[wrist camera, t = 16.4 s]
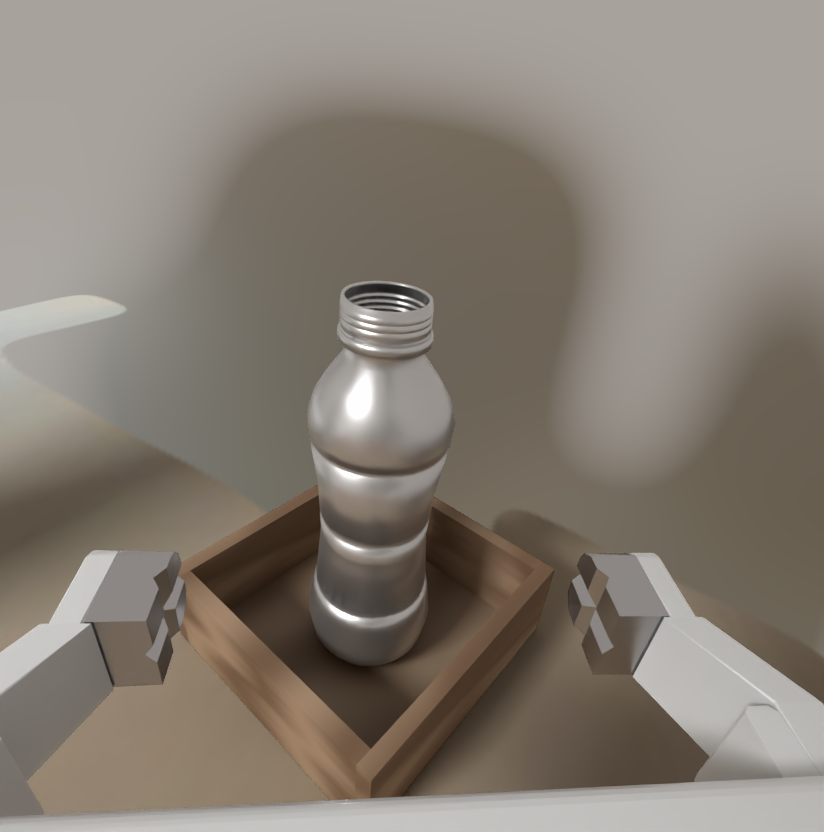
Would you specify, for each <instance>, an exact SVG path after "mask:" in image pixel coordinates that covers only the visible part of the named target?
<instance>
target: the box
mask: <svg viewBox="0 0 824 832" xmlns="http://www.w3.org/2000/svg"><path fill="white" fill-rule="evenodd" d="M320 530H321V520H320V505H319V491H318V485H316V486H315V487H313V488H311V489H309V490H307V491H306V492H304V493H302V494H300V495H299V496H297V497H295V498H293V499H292V500H290V501H288V502H286V503H285V504H283V505H281V506H280V507H278V508H276V509H274V510H273V511H271V512H269V513H267V514H265V515H264V516H262V517H260V518H258V519H257V520H255V521H253V522H251V523H250V524H248V525H246V526H244V527H243V528H241V529H239V530H237V531H236V532H234V533H232V534H230V535H229V536H227V537H225V538H224V539H222V540H220V541H218V542H217V543H215V544H213V545H211V546H210V547H208V548H206V549H204V550H203V551H201V552H199V553H197V554H196V555H194V556H192V557H190V558H189V559H187V560H185V561H183V562H182V563H181V568H180V571H179V574H178V576H179V577H180V578H181V579H183V580H184V581H185V587H186V605H185V612H184V618H183V621H182V625H181V628H180V631H181V634H182V635H183V636H184V637H185V638H186V639H187V640H188V641H189V643H190V644H191V645H192V646H193V647H194V648H195V649H196V650H197V651H198V653H199V654H200V655H201V656H202V657H203V658H204V659H205V660H206V662H207V663H208V664H209V665H210V666H211V667H212V668H213V669H214V670H215V672H216V673H217V674H218V675H219V676H220V677H221V678H222V679H223V680H224V682H225V683H226V684H227V685H228V686H229V687H230V688H231V689H232V691H233V692H234V693H235V694H236V695H237V696H238V697H239V698H240V699H241V701H242V702H243V703H244V704H245V705H246V706H247V707H248V708H249V709H250V711H251V712H252V713H253V714H254V715H255V716H256V717H257V718H258V720H259V721H260V722H261V723H262V724H263V725H264V726H265V727H266V728H267V730H268V731H269V732H270V733H271V734H272V735H273V736H274V737H275V738H276V740H277V741H278V742H279V743H280V744H281V745H282V746H283V747H284V748H285V750H286V751H287V752H288V753H289V754H290V755H291V756H292V757H293V759H294V760H295V761H296V762H297V763H298V764H299V765H300V766H301V767H302V769H303V770H304V771H305V772H306V773H307V774H308V775H309V776H310V777H311V779H312V780H313V781H314V782H315V783H316V784H317V785H318V786H319V788H320V789H321V790H322V791H323V792H324V793H325V794H326V795H327V796H328V798H329V799H330V800H344V799H364V798H384V797H401V796H402V795H403V794H404V793H405V791H406V790H407V789H408V788H409V786H410V785H411V784H412V783H413V781H414V780H415V779H416V778H417V776H418V775H419V774H420V773H421V771H422V770H423V769H424V768H425V766H426V765H427V764H428V763H429V761H430V760H431V759H432V758H433V756H434V755H435V754H436V753H437V751H438V750H439V749H440V748H441V746H442V745H443V744H444V743H445V742H446V740H447V739H448V738H449V737H450V735H451V734H452V733H453V732H454V730H455V729H456V728H457V727H458V725H459V724H460V723H461V722H462V720H463V719H464V718H465V717H466V715H467V714H468V713H469V712H470V710H471V709H472V708H473V707H474V705H475V704H476V703H477V702H478V700H479V699H480V698H481V697H482V695H483V694H484V693H485V692H486V690H487V689H488V688H489V687H490V685H491V684H492V683H493V682H494V680H495V679H496V678H497V677H498V675H499V674H500V673H501V672H502V670H503V669H504V668H505V667H506V665H507V664H508V663H509V662H510V660H511V659H512V658H513V657H514V655H515V654H516V653H517V652H518V650H519V649H520V648H521V647H522V645H523V644H524V643H525V642H526V640H527V639H528V638H529V637H530V635H531V634H532V633H533V632H534V630H535V629H536V628H537V625H538V622H539V619H540V616H541V612H542V609H543V606H544V603H545V599H546V596H547V593H548V589H549V586H550V583H551V580H552V576H553V573H554V570H555V569H554V568H552V567H550V566H549V565H547V564H545V563H544V562H542V561H540V560H539V559H537V558H535V557H534V556H532V555H530V554H529V553H527V552H525V551H524V550H522V549H520V548H519V547H517V546H515V545H514V544H512V543H510V542H509V541H507V540H505V539H504V538H502V537H500V536H499V535H497V534H495V533H494V532H492V531H490V530H489V529H487V528H485V527H483V526H482V525H480V524H479V523H477V522H475V521H473V520H472V519H470V518H469V517H467V516H465V515H464V514H462V513H460V512H459V511H457V510H455V509H454V508H452V507H450V506H449V505H447V504H445V503H444V502H442V501H440V500H439V499H437V498H435V497H434V498H433V503H432V508H431V513H430V517H429V523H428V528H427V532H426V558H425V573H426V579H427V589H428V613H427V618H426V621H425V623H424V626H423V628H422V630H421V633H420V635H419V637H418V639H417V641H416V643H415V644H414V645H413V647H412V648H411V649H410V650H409V651H408V652H407V653H406V654H404V655H403V656H402V657H400V658H398V659H396V660H394V661H392V662H389V663H386V664H383V665H377V666H359V665H355V664H351V663H349V662H346V661H344V660H342V659H340V658H338V657H336V656H335V655H334V654H332V653H331V652H329V651H328V650H327V649H326V647H325V646H324V645H323V644H322V643H321V641H320V640H319V638H318V636H317V634H316V631H315V628H314V625H313V621H312V617H311V614H310V610H309V597H310V591H311V585H312V579H313V574H314V571H315V568H316V565H317V559H318V549H319V540H320Z"/></svg>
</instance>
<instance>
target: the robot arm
mask: <svg viewBox="0 0 824 832" xmlns="http://www.w3.org/2000/svg"><path fill="white" fill-rule="evenodd" d="M577 567H578V569H579V571H580V574H579V575H578V576H577V577H575V578H574V579H573V580H572V581H571V584H570V587H569V591H568V607H569V612H570V616H571V618H572V621H573V624H574V626H575V627H576V628H578V629H579V630H580V631H581V632H582V633H583V634H584V635H585V636H584V639H583V642H582V647H583V650H584V652H585V655H586V658H587V660H588V663H589V665H590V668H591V670H592V673H593V674H625V675H633V678H634V679H635V680H636V681H637V682H638V683H639V684H640V685H641V686H642V687H643V688H644V689H645V690H646V691H647V692H648V693H649V694H650V695H651V696H652V697H653V698H654V699H655V700H656V701H657V702H658V703H659V705H660V706H661V707H662V708H663V709H664V710H665V711H666V712H667V713H668V714H669V715H670V716H671V717H672V718H673V719H674V720H675V721H676V722H677V723H678V724H679V725H680V726H681V727H682V728H683V729H684V730H685V732H686V733H687V734H688V735H689V736H690V737H691V738H692V739H693V740H694V741H695V742H696V743H697V744H698V745H699V746H700V747H701V748H702V749H703V750H704V751H705V752H706V753H707V754H708V755H709V756H710V757H709V758H708V760H707V761H706V762H705V764H704V765H703V766H702V768H701V769H700V770H699V771H698V773H697V775H696V777H695V779H694V781H695V782H689V783H669V784H649V785H629V786H608V787H588V788H567V789H547V790H526V791H506V792H485V793H465V794H444V795H424V796H404V797H384V798H364V799H344V800H324V801H304V802H284V803H264V804H244V805H224V806H204V807H184V808H164V809H144V810H124V811H104V812H84V813H64V814H44V811H43V809H42V807H41V804H40V803H39V801H38V799H37V798H36V796H35V794H34V793H33V791H32V789H31V788H30V786H29V784H28V783H27V781H28V779H29V778H30V777H31V776H32V775H33V774H34V773H35V772H36V771H37V770H38V769H39V768H40V767H41V766H42V765H43V764H44V763H45V762H46V761H47V759H48V758H49V757H50V756H51V755H52V754H53V753H54V752H55V751H56V750H57V749H58V748H59V747H60V746H61V745H62V744H63V743H64V742H65V740H66V739H67V738H68V737H69V736H70V735H71V734H72V733H73V732H74V731H75V730H76V729H77V728H78V727H79V726H80V725H81V724H82V723H83V722H84V720H85V719H86V718H87V717H88V716H89V715H90V714H91V713H92V712H93V711H94V710H95V709H96V708H97V707H98V706H99V705H100V704H101V703H102V702H103V700H104V699H105V698H106V697H107V696H108V695H109V694H110V693H111V692H112V691H113V687H121V686H141V685H161V684H163V682H164V678H165V675H166V672H167V669H168V666H169V663H170V660H171V657H172V654H173V648H172V644H171V638H172V637H173V636H174V635H175V634H176V633H177V632H178V631H180V628H181V625H182V621H183V618H184V612H185V605H186V587H185V581H184V580H183V579H181V578H180V577H179V576H178V574H179V571H180V568H181V561H180V557H179V553H177V552H162V551H127V550H121V551H112V550H93V551H92V552H91V553H90V554H88V555H87V556H86V558H85V559H84V561H83V563H82V565H81V567H80V568H79V570H78V572H77V574H76V576H75V577H74V579H73V581H72V583H71V585H70V586H69V588H68V590H67V592H66V594H65V595H64V597H63V599H62V601H61V602H60V604H59V606H58V608H57V610H56V611H55V613H54V615H53V617H52V619H51V620H50V622H49V624H39V625H38V626H36V627H35V628H33V629H32V630H31V631H29V632H28V633H26V634H25V635H24V636H22V637H21V638H20V639H18V640H17V641H15V642H14V643H13V644H11V645H10V646H8V647H7V648H6V649H4V650H3V651H1V652H0V832H824V705H823V704H822V702H820V701H819V700H818V699H816V698H815V697H813V696H812V695H811V694H809V693H808V692H807V691H805V690H804V689H802V688H801V687H800V686H798V685H797V684H795V683H794V682H793V681H791V680H790V679H788V678H787V677H786V676H784V675H783V674H781V673H780V672H779V671H777V670H776V669H774V668H773V667H772V666H770V665H769V664H768V663H766V662H765V661H763V660H762V659H761V658H759V657H758V656H756V655H755V654H754V653H752V652H751V651H749V650H748V649H747V648H745V647H744V646H742V645H741V644H740V643H738V642H737V641H735V640H734V639H733V638H731V637H730V636H729V635H727V634H726V633H724V632H723V631H722V630H720V629H719V628H717V627H716V626H715V625H713V624H712V623H710V622H709V621H708V620H706V619H705V618H703V617H696V616H695V615H694V613H693V611H692V610H691V608H690V606H689V605H688V603H687V602H686V600H685V598H684V597H683V595H682V594H681V592H680V590H679V589H678V587H677V585H676V584H675V582H674V581H673V579H672V577H671V576H670V574H669V573H668V571H667V569H666V568H665V566H664V564H663V563H662V561H661V560H660V558H659V557H658V556H657V555H656V554H654V553H584V554H583V555H582V556H581V557H580V560H579V562H578V565H577ZM43 814H44V815H43Z"/></svg>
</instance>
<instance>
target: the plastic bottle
mask: <svg viewBox="0 0 824 832" xmlns="http://www.w3.org/2000/svg"><path fill="white" fill-rule="evenodd" d="M433 309H434V305H433V298H432V296H431V295H430V294H429V293H427V292H426V291H424V290H422V289H420V288H417V287H414V286H411V285H407V284H403V283H397V282H388V281H365V282H359V283H354V284H351V285H348V286H346V287H345V288H344V289H343V290H342V291H341V296H340V322H339V323H338V326H337V338H338V341H339V342H340V344H341V345H342V346H343V347H344V349H343V350H342V351H341V353H340V354H339V355H338V356H337V357H336V358H335V359H334V361H333V362H332V363H331V364H330V365H329V367H328V368H327V369H326V371H325V372H324V374H323V375H322V377H321V378H320V380H319V381H318V383H317V384H316V385H315V387H314V389H313V393H312V396H311V399H310V402H309V406H308V409H307V420H308V431H309V438H310V444H311V449H312V454H313V460H314V465H315V471H316V476H317V481H318V491H319V505H320V520H321V530H320V540H319V549H318V559H317V565H316V568H315V571H314V574H313V579H312V585H311V591H310V597H309V610H310V614H311V617H312V621H313V625H314V628H315V631H316V634H317V636H318V638H319V640H320V641H321V643H322V644H323V645H324V646H325V647H326V649H327V650H328V651H329V652H331V653H332V654H334V655H335V656H336V657H338V658H340V659H342V660H344V661H346V662H349V663H351V664H355V665H359V666H377V665H383V664H386V663H389V662H392V661H394V660H396V659H398V658H400V657H402V656H403V655H404V654H406V653H407V652H408V651H409V650H410V649H411V648H412V647H413V645H414V644H415V643H416V641H417V639H418V637H419V635H420V633H421V630H422V628H423V626H424V623H425V621H426V618H427V613H428V589H427V579H426V573H425V558H426V532H427V528H428V523H429V517H430V513H431V508H432V503H433V498H434V493H435V490H436V487H437V484H438V481H439V478H440V475H441V472H442V469H443V466H444V463H445V460H446V457H447V454H448V450H449V448H450V444H451V439H452V435H453V431H454V426H455V420H454V414H453V408H452V403H451V398H450V396H449V394H448V392H447V390H446V388H445V386H444V384H443V383H442V381H441V379H440V377H439V375H438V373H437V372H436V370H435V369H434V368H433V366H432V365H431V363H430V362H429V360H428V359H427V357H426V356H425V353H427V352H428V351H429V350H430V349H431V348H432V345H433V335H434V334H433V330H432V320H433Z"/></svg>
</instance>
